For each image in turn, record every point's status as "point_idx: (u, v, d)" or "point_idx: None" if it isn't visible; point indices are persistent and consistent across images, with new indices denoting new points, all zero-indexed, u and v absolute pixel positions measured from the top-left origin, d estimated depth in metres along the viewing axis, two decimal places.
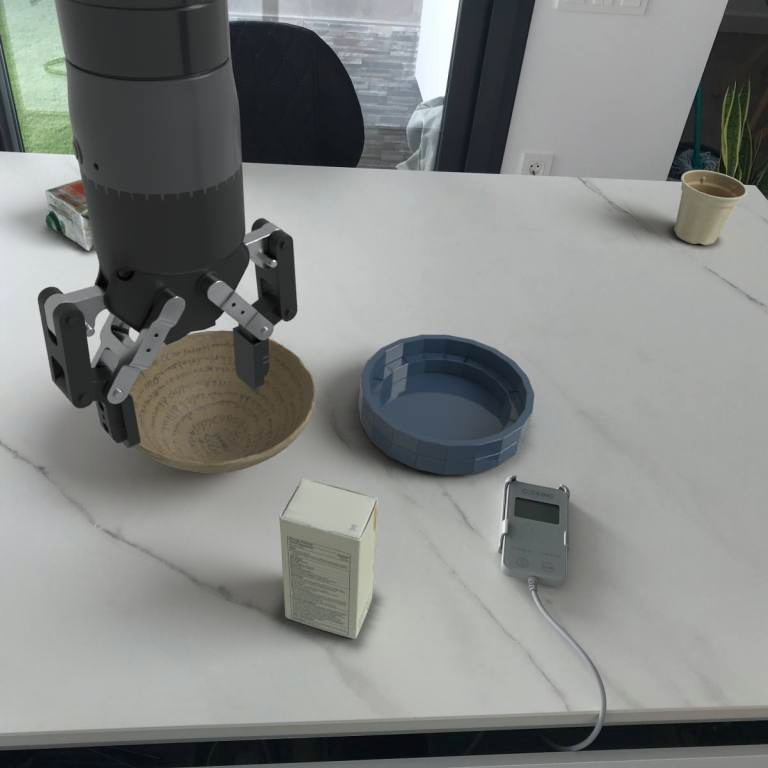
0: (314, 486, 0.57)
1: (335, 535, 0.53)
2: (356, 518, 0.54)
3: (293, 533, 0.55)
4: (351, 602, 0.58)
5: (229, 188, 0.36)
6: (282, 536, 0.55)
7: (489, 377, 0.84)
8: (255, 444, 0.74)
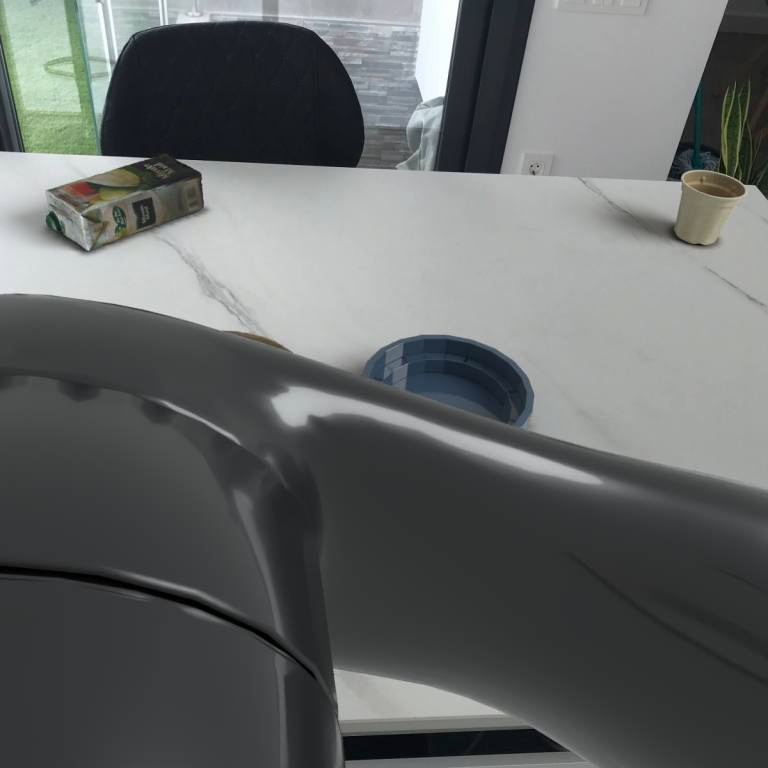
0: None
1: None
2: None
3: None
4: None
5: None
6: None
7: (489, 377, 0.84)
8: None
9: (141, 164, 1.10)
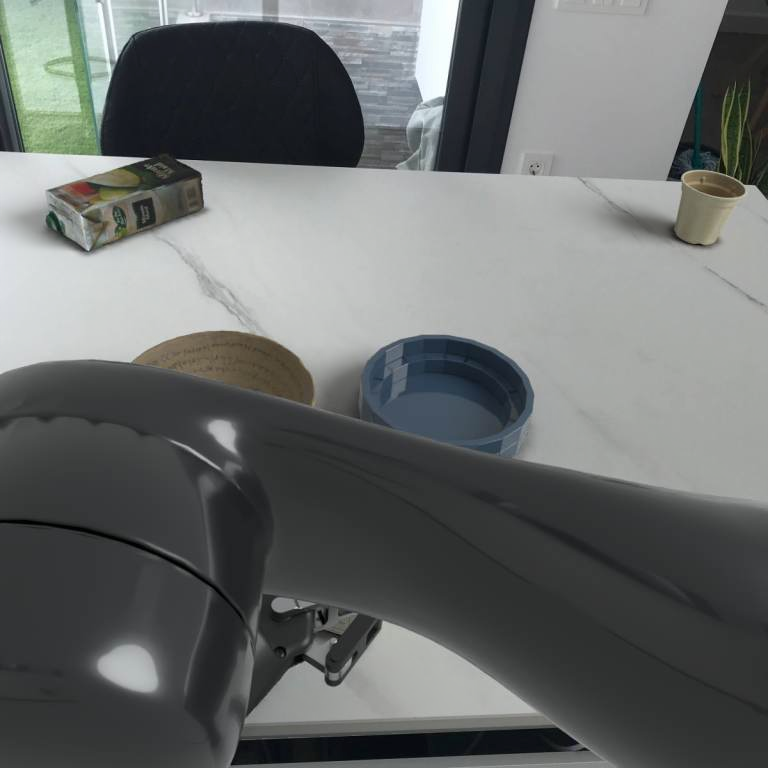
0: None
1: None
2: None
3: None
4: None
5: None
6: None
7: (489, 377, 0.84)
8: None
9: (141, 164, 1.10)
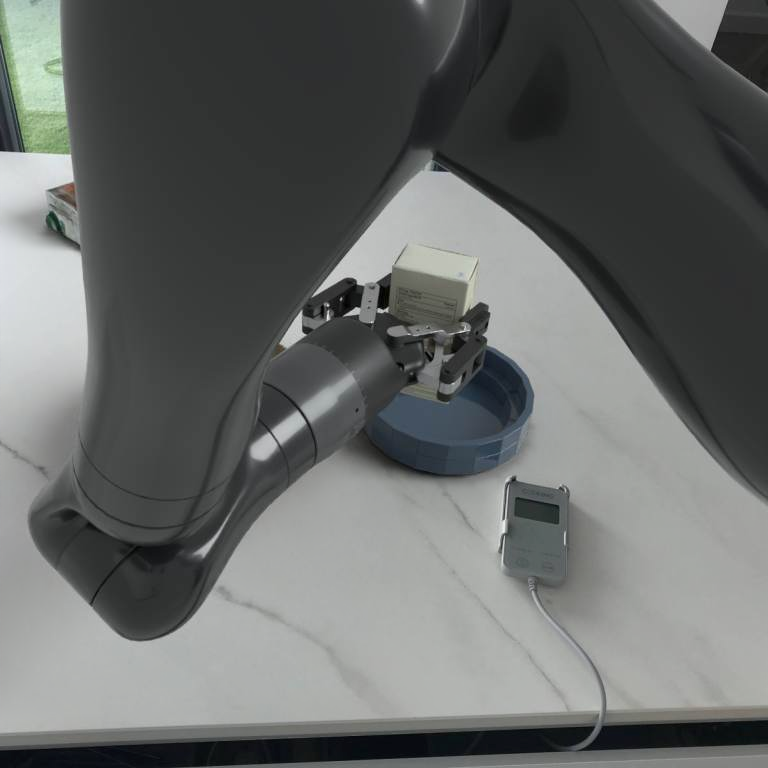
0: (420, 247, 0.61)
1: (444, 279, 0.58)
2: (462, 268, 0.59)
3: (404, 282, 0.59)
4: None
5: (310, 339, 0.52)
6: (392, 288, 0.60)
7: (489, 377, 0.84)
8: None
9: None
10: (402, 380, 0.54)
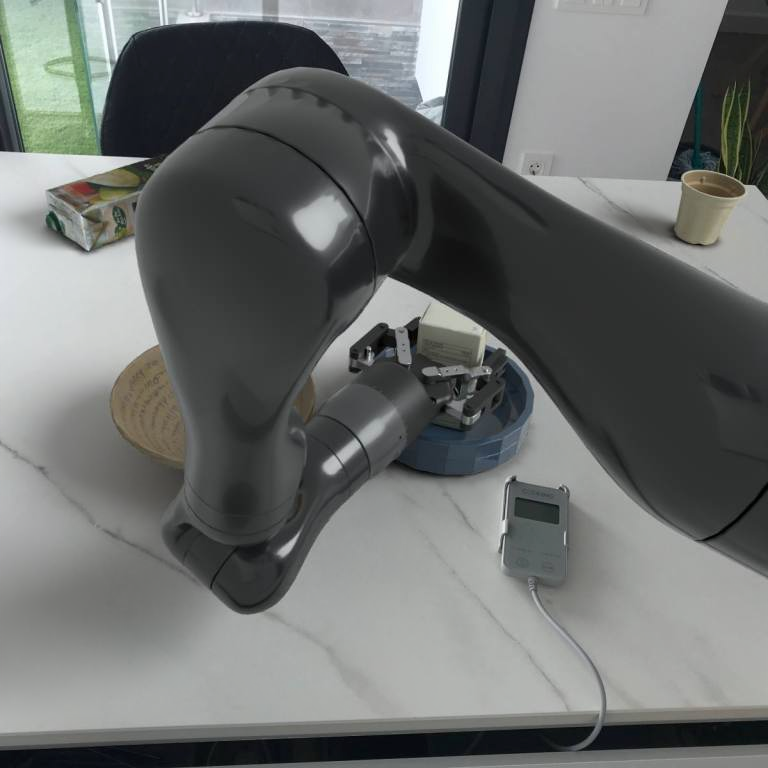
0: (441, 305, 0.75)
1: (461, 333, 0.72)
2: (476, 323, 0.73)
3: (429, 335, 0.73)
4: None
5: (362, 380, 0.65)
6: (419, 339, 0.74)
7: None
8: None
9: (141, 164, 1.10)
10: (434, 411, 0.68)
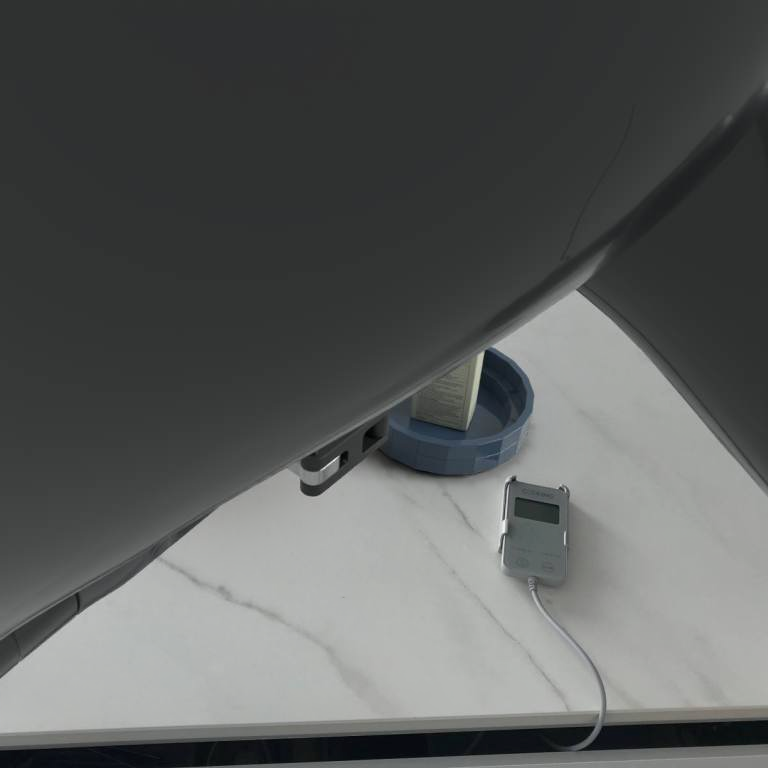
0: None
1: None
2: None
3: None
4: (467, 395, 0.76)
5: None
6: None
7: (489, 377, 0.84)
8: None
9: None
10: None
